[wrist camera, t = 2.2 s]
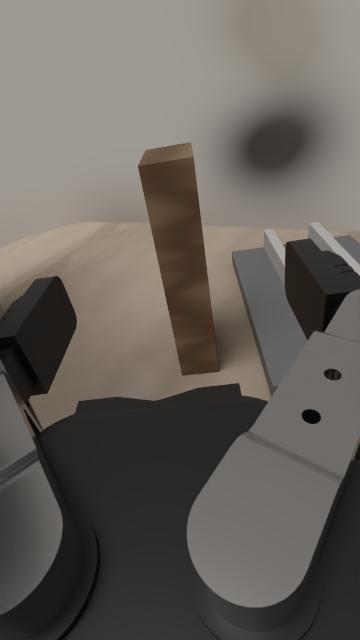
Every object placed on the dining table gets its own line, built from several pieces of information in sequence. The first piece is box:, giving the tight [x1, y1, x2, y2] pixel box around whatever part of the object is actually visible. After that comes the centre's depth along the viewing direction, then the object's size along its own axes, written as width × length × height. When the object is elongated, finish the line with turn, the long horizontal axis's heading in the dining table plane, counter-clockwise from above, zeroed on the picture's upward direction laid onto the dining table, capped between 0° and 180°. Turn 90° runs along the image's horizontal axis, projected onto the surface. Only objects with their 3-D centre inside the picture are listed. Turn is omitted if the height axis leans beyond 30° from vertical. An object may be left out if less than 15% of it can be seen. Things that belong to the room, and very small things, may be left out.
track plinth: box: [232, 222, 360, 397], centre depth 31 cm, size 14×22×4 cm, turn 0°
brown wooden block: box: [138, 143, 219, 375], centre depth 24 cm, size 3×5×16 cm, turn 0°
